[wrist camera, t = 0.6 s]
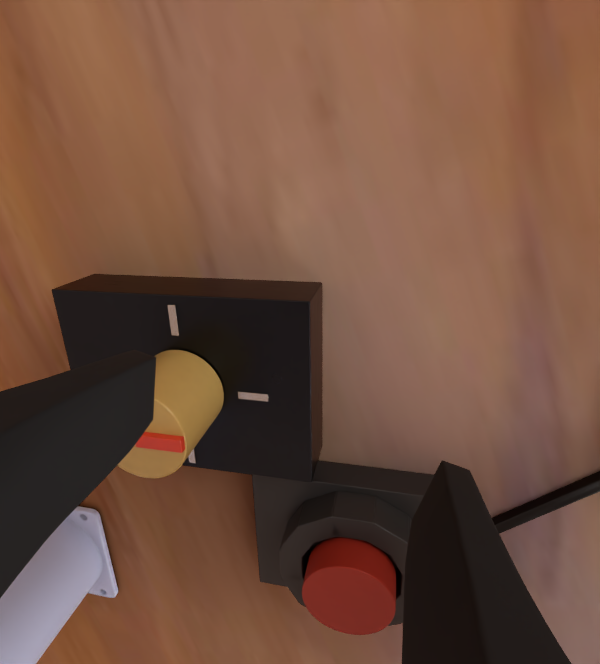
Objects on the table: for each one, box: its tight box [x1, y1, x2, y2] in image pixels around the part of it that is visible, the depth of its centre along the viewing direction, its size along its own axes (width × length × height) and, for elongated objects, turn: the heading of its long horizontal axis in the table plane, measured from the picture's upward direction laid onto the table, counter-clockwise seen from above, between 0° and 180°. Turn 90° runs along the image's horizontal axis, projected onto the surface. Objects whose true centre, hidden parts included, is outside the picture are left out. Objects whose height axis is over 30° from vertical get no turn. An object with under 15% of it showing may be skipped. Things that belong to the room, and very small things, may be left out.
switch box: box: [252, 461, 434, 626], centre depth 23 cm, size 11×8×4 cm
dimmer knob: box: [117, 350, 224, 478], centre depth 18 cm, size 4×4×4 cm
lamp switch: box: [302, 537, 396, 635], centre depth 21 cm, size 4×4×2 cm
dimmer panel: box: [52, 274, 322, 483], centre depth 21 cm, size 12×9×3 cm
